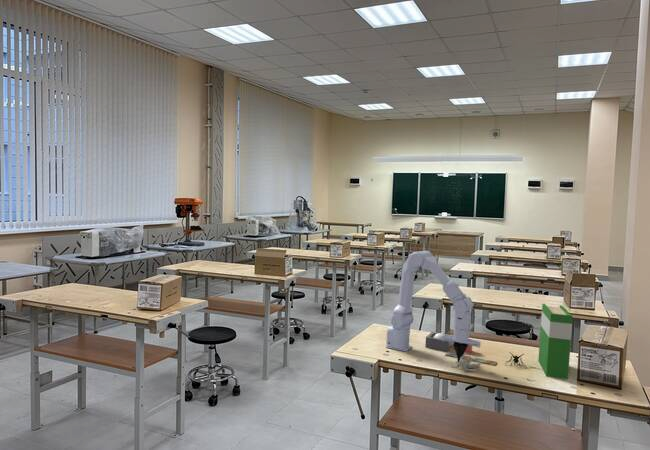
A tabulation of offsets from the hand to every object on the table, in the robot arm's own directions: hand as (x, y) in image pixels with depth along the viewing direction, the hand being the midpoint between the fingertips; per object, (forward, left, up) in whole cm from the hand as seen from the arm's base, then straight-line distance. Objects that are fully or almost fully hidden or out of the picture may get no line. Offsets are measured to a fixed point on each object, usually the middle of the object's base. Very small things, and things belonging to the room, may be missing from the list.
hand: (459, 361), depth 181 cm
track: (+3, +9, -1) cm, 9 cm away
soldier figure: (+4, -2, -1) cm, 5 cm away
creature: (+20, +12, -2) cm, 23 cm away
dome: (-12, +18, -1) cm, 22 cm away
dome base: (-12, +18, -1) cm, 22 cm away
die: (-1, +18, -1) cm, 18 cm away
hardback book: (+33, +16, -1) cm, 36 cm away
